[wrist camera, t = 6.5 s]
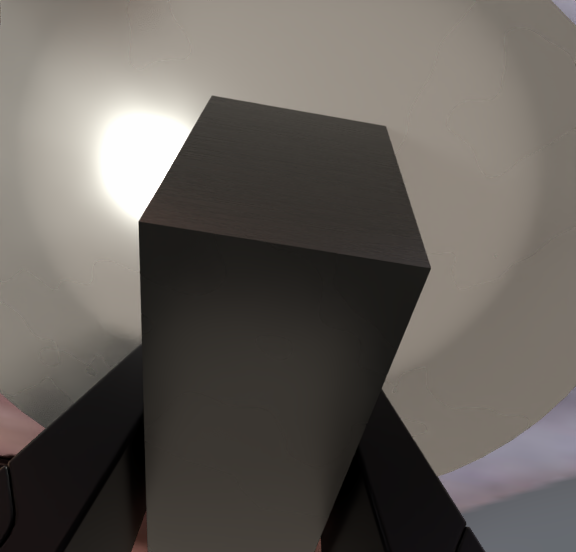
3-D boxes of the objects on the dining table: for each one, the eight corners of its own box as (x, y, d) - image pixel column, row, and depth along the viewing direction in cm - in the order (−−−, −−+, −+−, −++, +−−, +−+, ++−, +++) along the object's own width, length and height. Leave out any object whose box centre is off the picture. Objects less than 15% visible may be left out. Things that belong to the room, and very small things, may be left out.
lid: (457, 487, 14) (506, 690, 11) (9, 426, 14) (-107, 619, 10) (797, -16, 7) (1400, 76, 3) (-181, -211, 6) (-1000, -416, 2)
